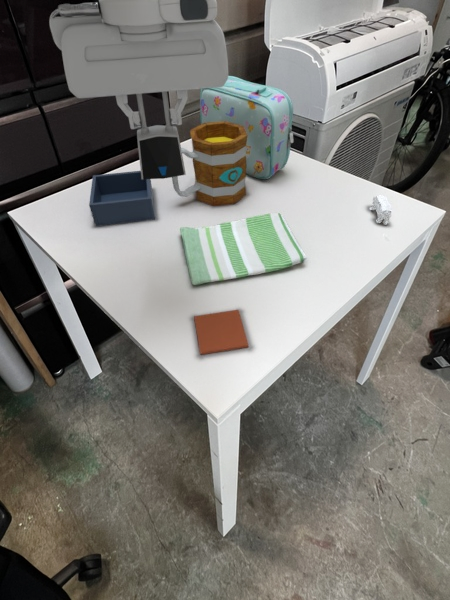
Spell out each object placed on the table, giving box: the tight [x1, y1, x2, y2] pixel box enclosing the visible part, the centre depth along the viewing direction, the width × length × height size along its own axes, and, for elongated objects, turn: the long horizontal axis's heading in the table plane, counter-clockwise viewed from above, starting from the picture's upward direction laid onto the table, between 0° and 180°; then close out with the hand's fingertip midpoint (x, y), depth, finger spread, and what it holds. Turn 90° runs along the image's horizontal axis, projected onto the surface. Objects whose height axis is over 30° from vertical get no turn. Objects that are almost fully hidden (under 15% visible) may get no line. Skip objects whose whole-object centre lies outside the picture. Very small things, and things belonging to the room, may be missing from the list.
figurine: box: [368, 195, 392, 226], centre depth 85 cm, size 2×8×5 cm, turn 1°
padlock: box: [135, 91, 186, 180], centre depth 52 cm, size 7×4×15 cm, turn 100°
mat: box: [193, 309, 249, 356], centre depth 63 cm, size 8×8×1 cm
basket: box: [88, 170, 156, 227], centre depth 89 cm, size 14×14×6 cm
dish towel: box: [179, 212, 307, 286], centre depth 78 cm, size 18×23×3 cm
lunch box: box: [199, 75, 295, 180], centre depth 97 cm, size 27×10×21 cm, turn 48°
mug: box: [171, 121, 248, 207], centre depth 89 cm, size 20×14×15 cm
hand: (156, 125), depth 52 cm, fingers closed on padlock, 4 cm apart
